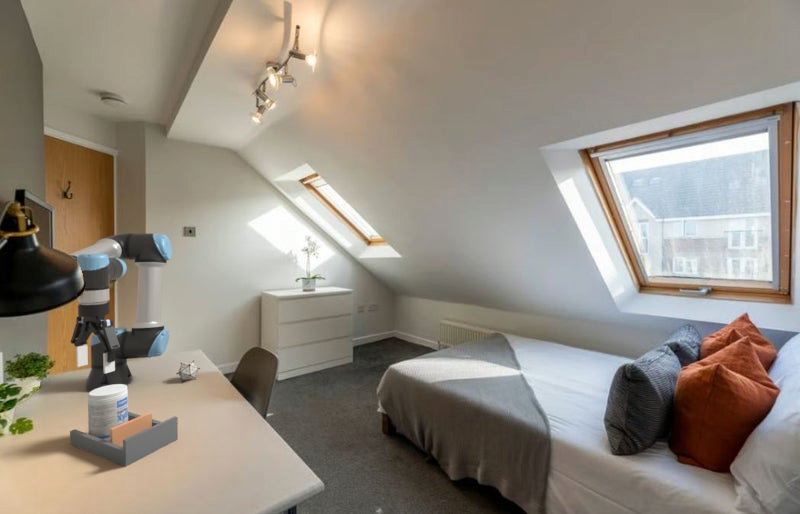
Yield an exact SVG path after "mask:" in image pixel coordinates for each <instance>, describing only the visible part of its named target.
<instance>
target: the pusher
mask: <svg viewBox="0 0 800 514" xmlns="http://www.w3.org/2000/svg"><path fill="white" fill-rule="evenodd" d="M152 419H153V413H152V412H146V413H145V414H142V415H141V416H140V417H137V418H135V419H132V420H130V421H128V422H125V423H123V424H120V425H118V426H116V427H113V428H111V429H110V442H111V443H114V444H117V445H120V446H122V447H123V440H124V439H126V438H128V437H130V436H133V435H135V434H137V433H139V432H141V431H143V430H146V429H148V428H150V427H152Z"/></svg>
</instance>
